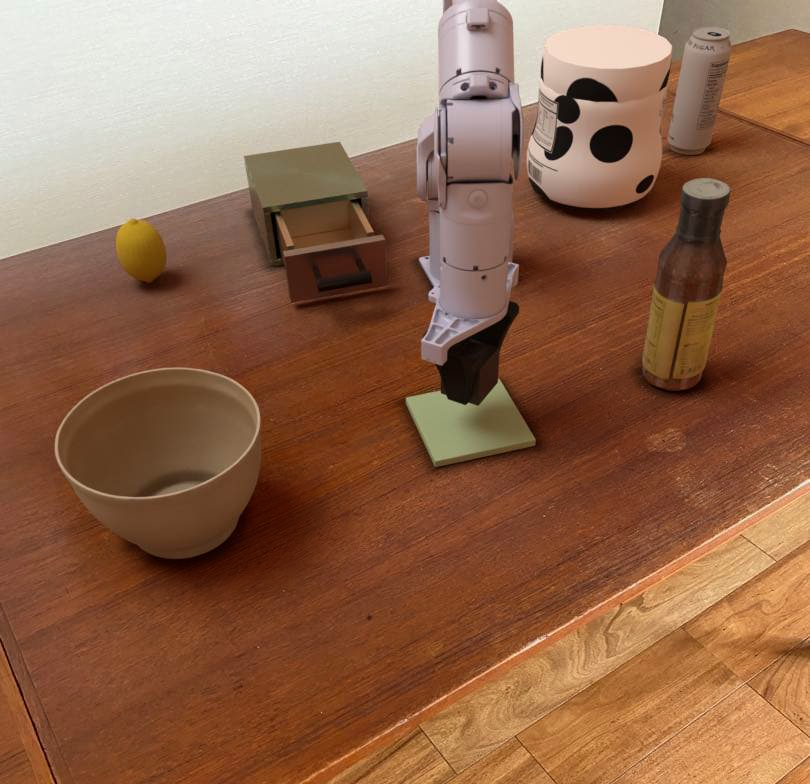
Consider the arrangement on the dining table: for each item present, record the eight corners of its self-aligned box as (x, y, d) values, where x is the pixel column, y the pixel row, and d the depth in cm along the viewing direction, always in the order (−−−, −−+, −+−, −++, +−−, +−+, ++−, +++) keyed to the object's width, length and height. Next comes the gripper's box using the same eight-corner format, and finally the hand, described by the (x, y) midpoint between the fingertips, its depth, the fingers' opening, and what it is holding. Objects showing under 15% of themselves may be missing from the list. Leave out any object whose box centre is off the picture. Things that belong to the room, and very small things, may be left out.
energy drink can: (682, 135, 128) (705, 21, 117) (717, 147, 125) (744, 32, 114) (657, 147, 125) (678, 33, 114) (692, 160, 122) (717, 43, 111)
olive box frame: (371, 249, 108) (367, 190, 102) (271, 266, 106) (262, 207, 100) (344, 198, 118) (339, 141, 112) (253, 212, 116) (243, 155, 110)
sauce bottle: (704, 363, 90) (755, 175, 76) (697, 399, 86) (749, 208, 72) (640, 353, 92) (678, 167, 77) (631, 387, 88) (669, 198, 73)
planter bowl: (196, 620, 69) (164, 527, 61) (56, 544, 75) (10, 451, 67) (314, 498, 78) (300, 403, 70) (180, 439, 84) (153, 345, 76)
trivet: (499, 384, 89) (499, 378, 88) (535, 446, 82) (536, 439, 82) (405, 403, 87) (405, 397, 87) (435, 467, 81) (435, 461, 80)
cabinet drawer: (397, 304, 98) (395, 257, 94) (298, 322, 96) (291, 275, 92) (359, 231, 109) (356, 186, 105) (271, 246, 108) (264, 201, 103)
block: (460, 370, 83) (461, 335, 80) (498, 382, 82) (500, 347, 79) (440, 393, 81) (440, 358, 78) (478, 406, 80) (480, 370, 77)
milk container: (673, 180, 118) (703, 35, 105) (623, 235, 109) (649, 83, 95) (558, 154, 125) (572, 14, 112) (501, 203, 115) (509, 56, 102)
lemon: (162, 296, 102) (145, 232, 96) (119, 292, 103) (99, 229, 97) (179, 271, 106) (164, 209, 100) (137, 268, 107) (120, 206, 101)
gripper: (471, 205, 77) (468, 335, 87) (386, 282, 69) (393, 416, 79) (544, 223, 74) (532, 355, 84) (465, 305, 66) (462, 441, 76)
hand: (469, 386), depth 81 cm, fingers closed on block, 4 cm apart
